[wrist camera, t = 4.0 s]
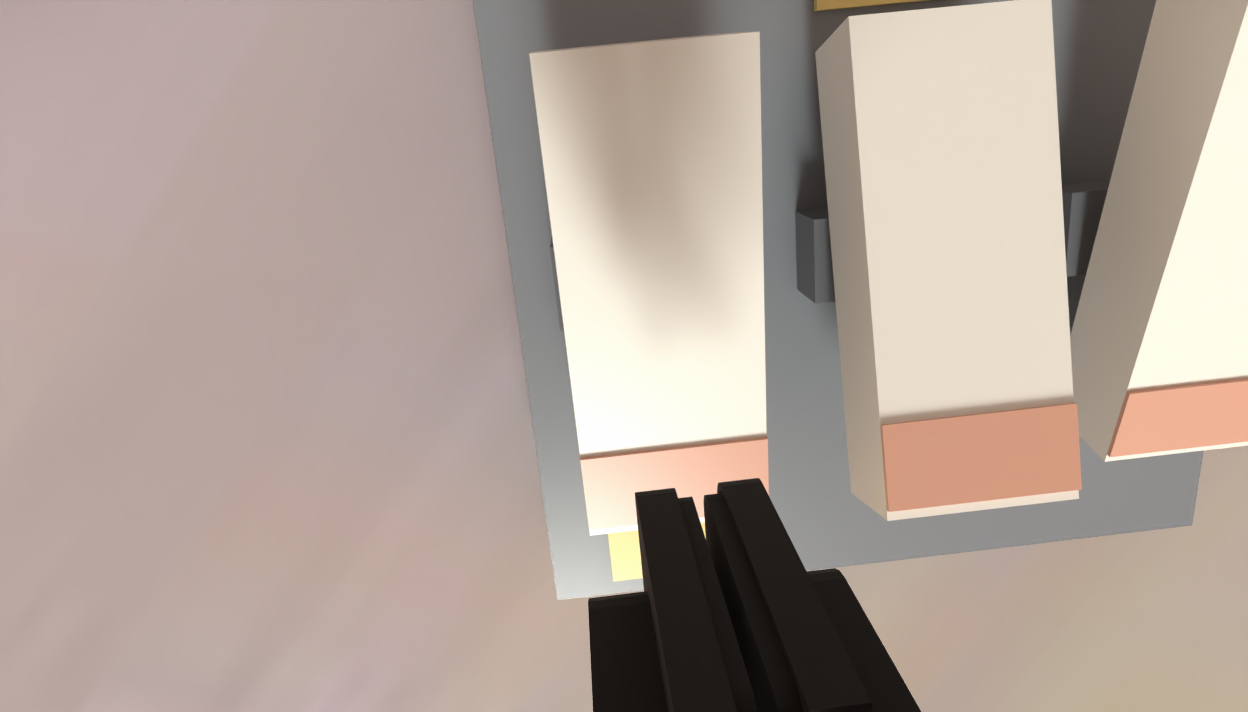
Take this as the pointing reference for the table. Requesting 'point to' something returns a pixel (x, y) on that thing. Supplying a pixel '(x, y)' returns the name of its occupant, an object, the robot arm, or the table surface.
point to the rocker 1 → (658, 262)
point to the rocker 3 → (1172, 250)
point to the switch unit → (806, 279)
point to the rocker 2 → (950, 258)
